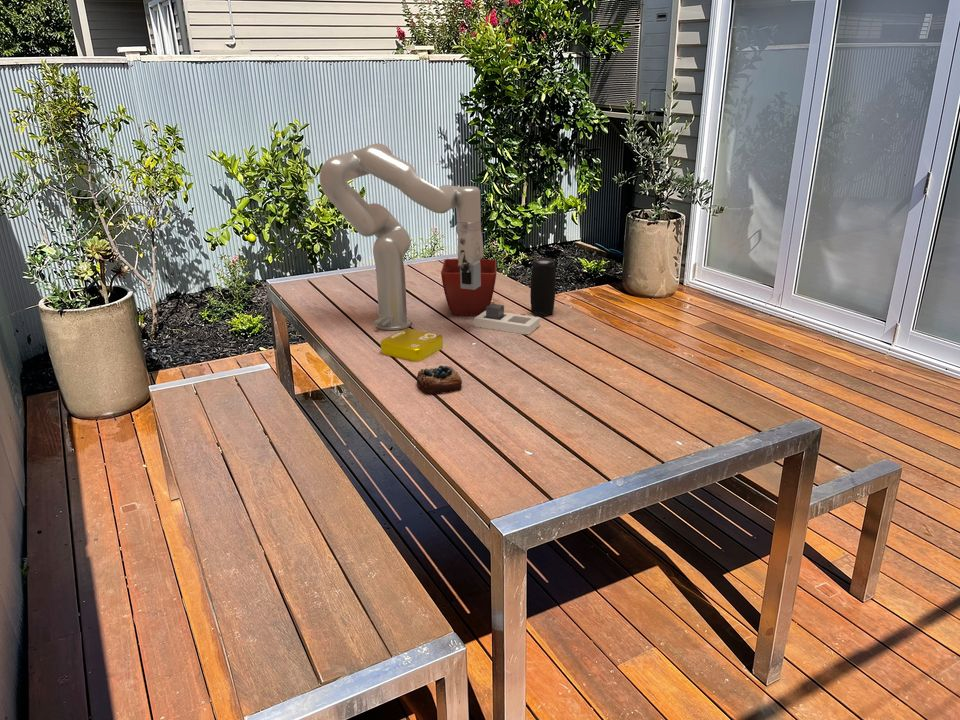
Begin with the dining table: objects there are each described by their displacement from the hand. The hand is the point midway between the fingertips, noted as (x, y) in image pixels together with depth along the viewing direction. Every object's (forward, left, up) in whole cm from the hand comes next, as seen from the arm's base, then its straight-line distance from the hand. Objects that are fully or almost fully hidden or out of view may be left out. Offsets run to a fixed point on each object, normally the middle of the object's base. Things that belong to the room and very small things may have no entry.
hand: (470, 281), depth 231 cm
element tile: (-25, +8, -17) cm, 31 cm away
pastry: (-45, -12, -17) cm, 50 cm away
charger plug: (0, 0, -2) cm, 2 cm away
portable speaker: (+26, -16, -17) cm, 35 cm away
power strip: (+12, -10, -17) cm, 23 cm away
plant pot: (+18, +9, -17) cm, 26 cm away
